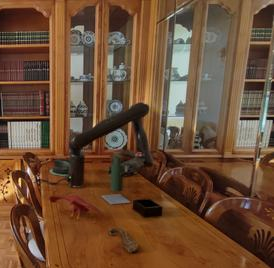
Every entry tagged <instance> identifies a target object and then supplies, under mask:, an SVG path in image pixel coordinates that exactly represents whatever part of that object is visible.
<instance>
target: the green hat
mask: <svg viewBox="0 0 274 268" xmlns="http://www.w3.org/2000/svg"><path fill="white" fill-rule="evenodd" d="M53 162H54V164H53V168H51V169H50V170H49V171H48V172H49V174H52V175H54V176H60V177H65V175H68V170H69V159H67V158H58V159H54V161H53Z"/></svg>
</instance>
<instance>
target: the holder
mask: <svg viewBox="0 0 274 268" xmlns="http://www.w3.org/2000/svg"><path fill="white" fill-rule="evenodd" d="M132 210H133V211H135V212H136V213H137V214H139V215H140V216H141V217H143V218H144V219H145V218H152V217H153V218H155V217H161V216H163V206H162V205H161V204H159V203H157V202H156V201H154V200H153V199H151V198H141V199H133V200H132Z"/></svg>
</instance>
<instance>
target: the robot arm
mask: <svg viewBox="0 0 274 268" xmlns="http://www.w3.org/2000/svg"><path fill="white" fill-rule="evenodd" d="M149 113H150V105H149V104H148V103H146V102H143V101H139V102H136V103H134V104H132V105H130V107H129V108H128V109H126V110H124V111H121V112H118V113H115V114H112V115H110V116H108V117H105V118H104V119H102V120H100V121H98V122H97V123H96V124H95V125H94V126H93V127H91V128H90V129H88V130H86V131H82V132H81V133H80V132H78V131H73V132H72V133H71V134H70V135H69V137H68V156H69V157H68V158H69V159H68V160H69V170H68V175H65V176H64V178H61V179H58V180H57V181H55V182H50V180H47V179H42V178H40V179H39V178H37V179H35V180H36V182H38V181H41V182H47V183H48V184H49V185H58V184H59V183H60V182H61V181H66V183H67V185H68V186H69V187H70V188H74V189H75V188H76V189H81V188H84V187H85V164H86V163H85V160H86V155H85V152H84V148H85V147H87V146H88V145H90V144H91V143H93V142H95V141H96V140H98V139H101V138H103V137H105V136H108V135H109V134H112V133H114V132H115V131H117V130H120V129H121V128H123V127H124V126H126V125H128V124H130V123H131V124H132V128H133V133H134V141H135V149H136V152H138V153H142V154H143V155H136V157H135V158H134V159H132V160H128V161H126V162H123V163H122V164H123V165H124V166H123V172H121V173H120V177H123V178H124V177H134V176H136V175H137V172H139V171H140V170H142V169H143V168H152V167H153V166H154V157H153V156H152V153H151V151H150V147H149V137H148V135H147V132H146V129H145V127H144V124H143V118H144V117H147V116H148V115H149ZM107 174H108V175H111V165H110V166H108V170H107ZM127 175H128V176H127Z"/></svg>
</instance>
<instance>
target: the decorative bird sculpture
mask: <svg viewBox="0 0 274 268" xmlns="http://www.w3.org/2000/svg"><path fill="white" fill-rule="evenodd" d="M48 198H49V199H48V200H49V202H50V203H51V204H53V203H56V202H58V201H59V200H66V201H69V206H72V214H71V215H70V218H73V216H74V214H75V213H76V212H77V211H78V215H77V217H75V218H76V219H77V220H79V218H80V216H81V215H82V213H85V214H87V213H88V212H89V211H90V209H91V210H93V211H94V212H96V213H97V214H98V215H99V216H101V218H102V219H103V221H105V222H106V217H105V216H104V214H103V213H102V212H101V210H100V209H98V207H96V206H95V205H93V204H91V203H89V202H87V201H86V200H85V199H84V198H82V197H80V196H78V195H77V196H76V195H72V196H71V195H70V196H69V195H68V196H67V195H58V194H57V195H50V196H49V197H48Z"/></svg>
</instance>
